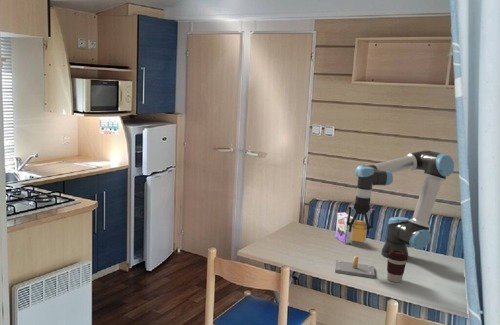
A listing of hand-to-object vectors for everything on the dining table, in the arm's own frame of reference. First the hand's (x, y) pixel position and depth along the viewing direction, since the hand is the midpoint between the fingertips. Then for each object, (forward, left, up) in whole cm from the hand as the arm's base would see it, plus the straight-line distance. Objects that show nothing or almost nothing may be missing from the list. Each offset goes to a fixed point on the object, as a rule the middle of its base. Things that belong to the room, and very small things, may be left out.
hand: (357, 239), depth 256 cm
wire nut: (0, 0, 0) cm, 0 cm away
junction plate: (0, 0, -17) cm, 17 cm away
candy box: (+7, -50, -17) cm, 53 cm away
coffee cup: (-20, +5, -17) cm, 27 cm away
